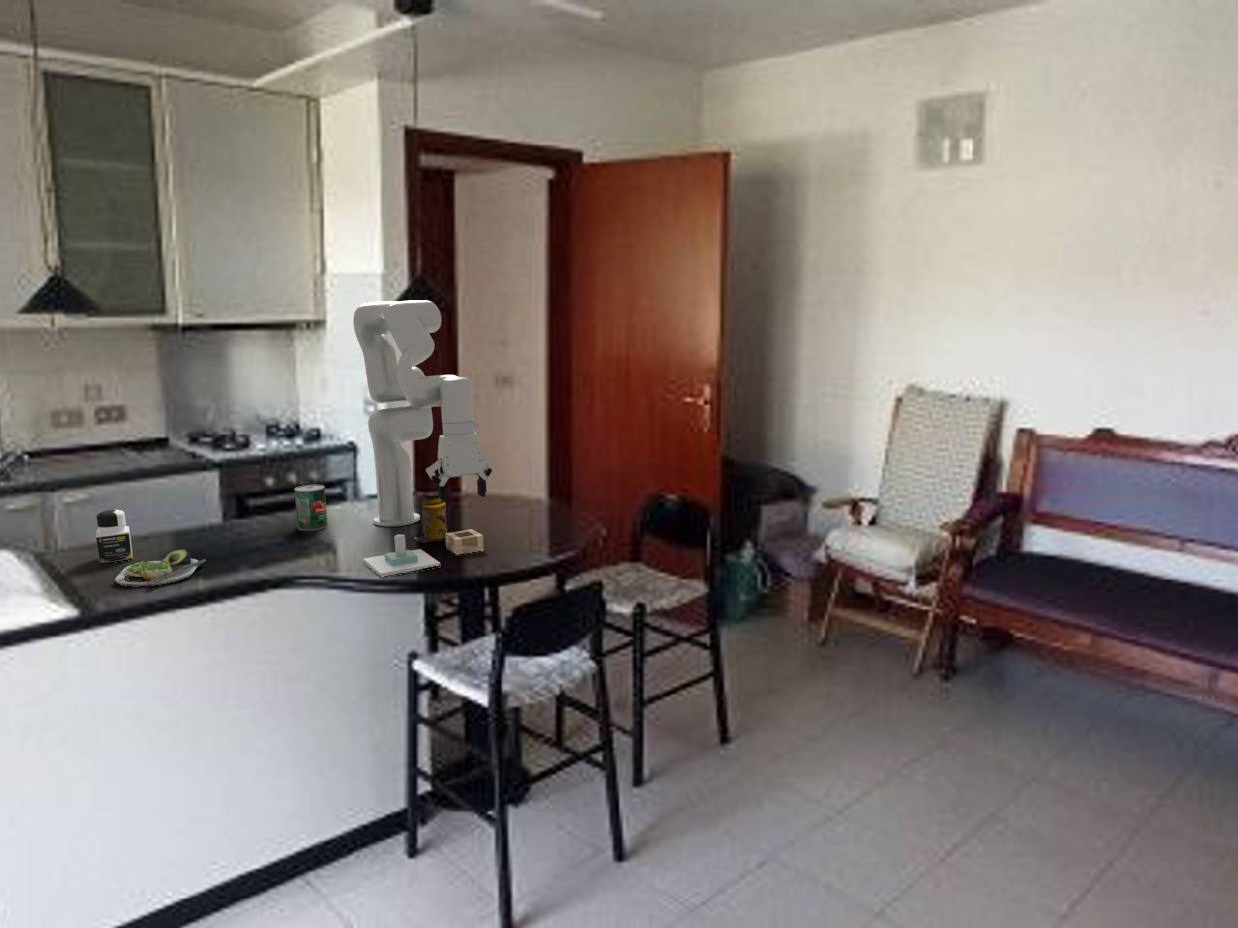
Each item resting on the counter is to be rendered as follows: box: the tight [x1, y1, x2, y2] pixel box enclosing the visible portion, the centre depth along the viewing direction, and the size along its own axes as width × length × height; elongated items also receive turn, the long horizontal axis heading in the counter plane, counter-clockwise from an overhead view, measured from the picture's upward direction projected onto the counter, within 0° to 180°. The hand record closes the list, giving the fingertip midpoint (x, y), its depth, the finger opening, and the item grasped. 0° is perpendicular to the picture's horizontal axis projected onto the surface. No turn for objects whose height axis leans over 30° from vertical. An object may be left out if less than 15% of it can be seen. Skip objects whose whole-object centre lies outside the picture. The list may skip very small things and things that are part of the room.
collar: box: [445, 528, 485, 556], centre depth 231 cm, size 7×7×4 cm
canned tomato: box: [293, 484, 329, 532], centre depth 256 cm, size 8×8×11 cm
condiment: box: [421, 490, 448, 540], centre depth 241 cm, size 7×8×12 cm
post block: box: [362, 534, 441, 577], centre depth 219 cm, size 14×14×7 cm
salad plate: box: [114, 549, 207, 588], centre depth 215 cm, size 19×18×5 cm
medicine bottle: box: [95, 509, 133, 562], centre depth 229 cm, size 7×7×12 cm
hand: (463, 498), depth 228 cm, fingers open, 9 cm apart
